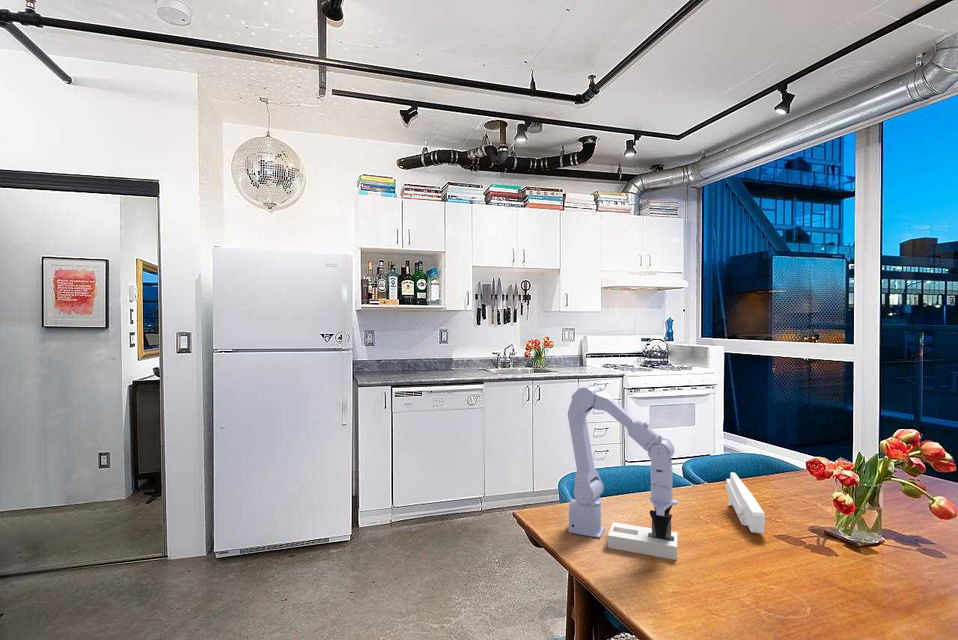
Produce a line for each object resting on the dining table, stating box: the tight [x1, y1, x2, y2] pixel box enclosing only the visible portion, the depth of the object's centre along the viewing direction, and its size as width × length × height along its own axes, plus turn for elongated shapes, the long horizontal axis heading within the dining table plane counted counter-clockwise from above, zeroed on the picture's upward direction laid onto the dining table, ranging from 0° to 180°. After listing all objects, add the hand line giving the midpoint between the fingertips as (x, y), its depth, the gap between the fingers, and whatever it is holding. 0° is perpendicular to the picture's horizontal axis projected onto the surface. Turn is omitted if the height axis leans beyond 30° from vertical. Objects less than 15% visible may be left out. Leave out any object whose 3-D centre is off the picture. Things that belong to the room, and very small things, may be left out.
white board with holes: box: [607, 521, 679, 561], centre depth 136 cm, size 18×10×4 cm, turn 67°
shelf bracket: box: [725, 472, 766, 534], centre depth 155 cm, size 6×25×13 cm, turn 169°
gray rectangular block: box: [651, 519, 672, 541], centre depth 134 cm, size 5×2×9 cm, turn 67°
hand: (661, 532), depth 134 cm, fingers open, 7 cm apart
